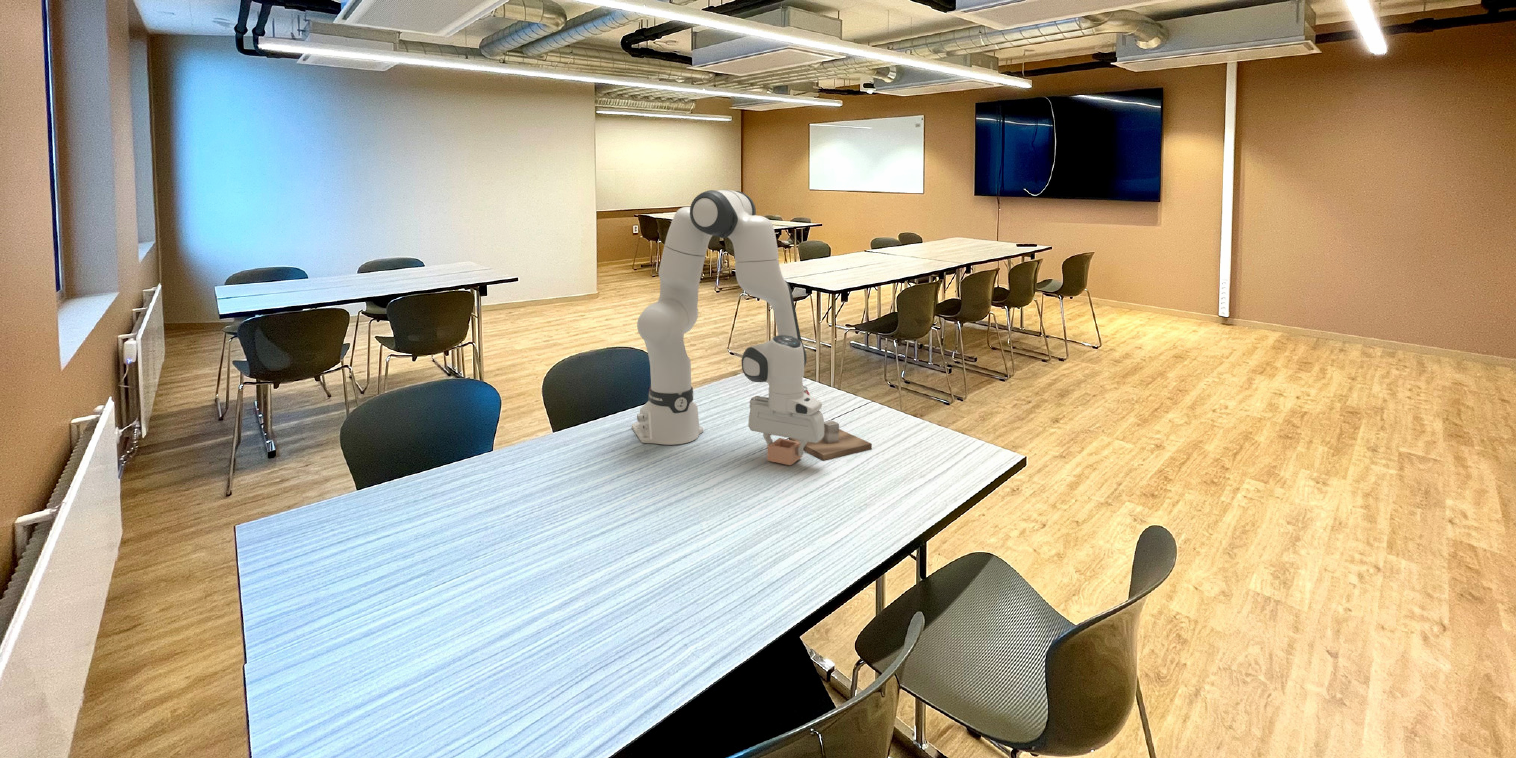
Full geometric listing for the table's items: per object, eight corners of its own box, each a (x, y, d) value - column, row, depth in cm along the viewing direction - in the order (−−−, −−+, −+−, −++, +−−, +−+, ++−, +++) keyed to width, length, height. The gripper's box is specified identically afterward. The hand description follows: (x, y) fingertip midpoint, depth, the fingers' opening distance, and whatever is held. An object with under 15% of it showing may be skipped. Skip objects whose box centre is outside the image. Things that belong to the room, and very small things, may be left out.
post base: (788, 442, 207) (788, 419, 205) (835, 432, 215) (835, 410, 214) (823, 460, 194) (823, 436, 192) (871, 448, 202) (872, 425, 200)
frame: (767, 460, 192) (767, 445, 191) (779, 452, 198) (779, 438, 197) (790, 465, 189) (790, 450, 188) (801, 457, 195) (802, 442, 194)
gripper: (743, 397, 192) (743, 448, 195) (817, 410, 182) (815, 463, 186) (755, 391, 197) (755, 441, 201) (827, 403, 188) (826, 455, 191)
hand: (785, 452), depth 193 cm, fingers closed on frame, 7 cm apart
